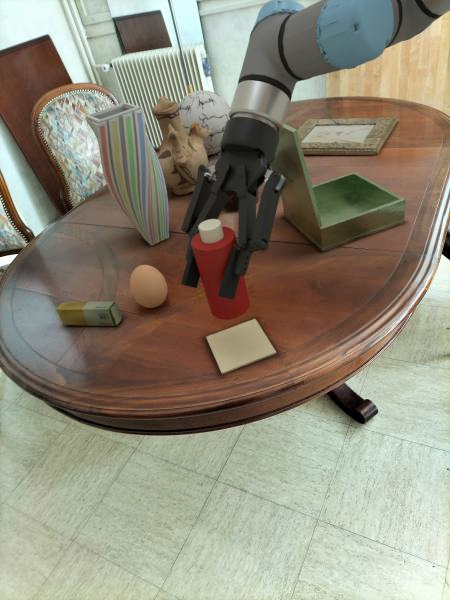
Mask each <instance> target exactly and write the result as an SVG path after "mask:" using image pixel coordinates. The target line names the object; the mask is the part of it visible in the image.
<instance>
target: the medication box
mask: <svg viewBox="0 0 450 600" xmlns="http://www.w3.org/2000/svg"><path fill="white" fill-rule="evenodd" d="M56 312H57V314H58V316H59V318H60V321H61V323H62V325H63V326H100V327H101V326H103V327H104V326H105V327H107V326H109V327H112V326H114V327H117V326H118V325H119V324H120V323H121V322H122V320H123V317H122V314H121V311H120V308H119V305H118V302H117V301H114V300H113V301H111V300H110V301H109V300H108V301H63V302H61V303H60V304H59V305H58V307H56Z"/></svg>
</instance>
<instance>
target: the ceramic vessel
mask: <svg viewBox="0 0 450 600" xmlns="http://www.w3.org/2000/svg"><path fill="white" fill-rule="evenodd" d="M178 104H179V103H178V102H177V101H171V100H169V99H168V97H167V96H165V95H161V96H159V98H158V100H157V103H156V104H155V105H154V106H153V107H151V112H152V115H153V116H154V118H155V119H156V121H157V123H158V126H159V129H160V133H161V135H162V140H161V143H160V145H159V146H158V147H157V146H154V145H153V144H152V146H153V148H154V150H155V153H156V155H157V157H158V160H159V163H160V166H161V169H162V172H163V176H164V180H165V185H166V189H167V188H169V189H172V191H173V193H174V194H175V195H178V196H181V195H182V196H183V195H187V194H190V193H193V192H194V189H195V186H196V183H197V175H198V167H199V166H200V165H204V166H206V167H209V166H208V165H209V157H208V156H207V153H206V150H205V148H204V141H205V139H206V138H207V137H208V136H209V135H210V134H212V131H211V130H206V129H204V128H202V127H201V126H200V124H199V123H197V122H196V123H193V124H192V125H191V127H190V132H189V134H188V135H186V134H185V132H184V129H183V126H182V122H181V118H180V114H179V107H178Z"/></svg>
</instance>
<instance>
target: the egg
mask: <svg viewBox="0 0 450 600" xmlns="http://www.w3.org/2000/svg"><path fill="white" fill-rule="evenodd" d="M129 289H130V294H131V296H132V297H133V299H134V301H135V302H136V303H137V304H138V305H140V306H142V307H144V308H148V309H154V308H157V307H159V306H161V305H162V304H163V303H164V302H165V301H166V298H167V295H168V283H167V280H166V278H165V277H164V275H163V274H162V273H161V271H159V270H158V269H157V268H156V267H154V266H152V265H149V264H141V265H138V266H137V267H135V268H134V270H133V271H132V272H131V275H130V280H129Z"/></svg>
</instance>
